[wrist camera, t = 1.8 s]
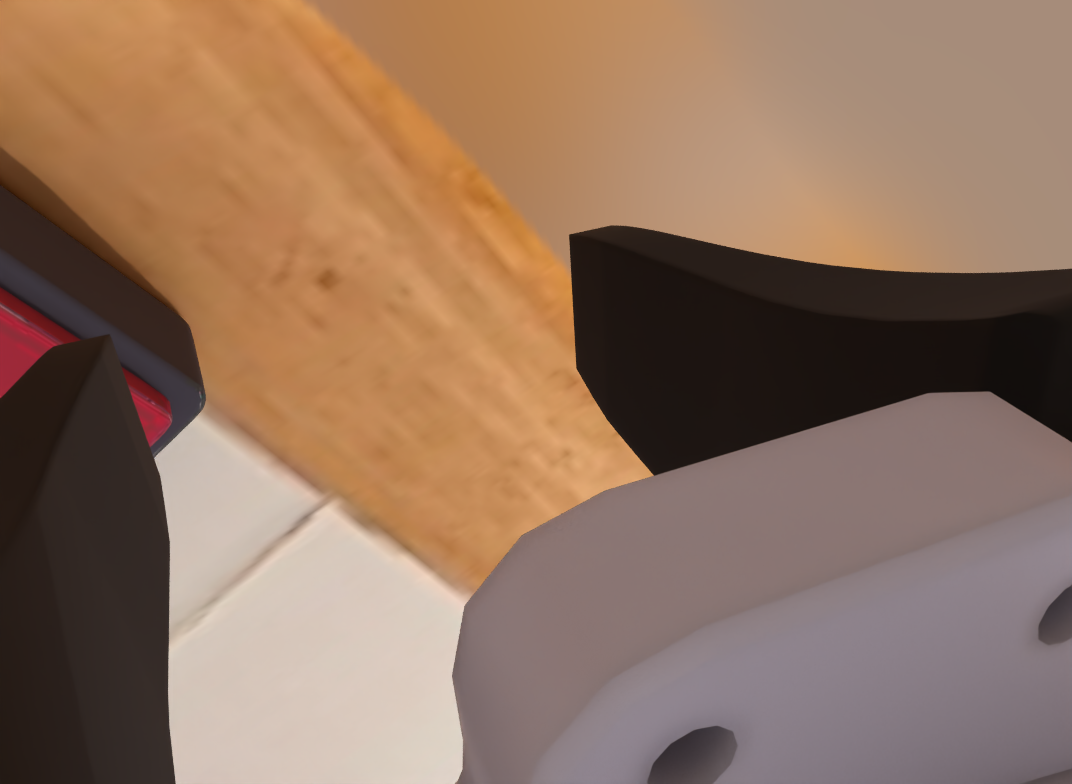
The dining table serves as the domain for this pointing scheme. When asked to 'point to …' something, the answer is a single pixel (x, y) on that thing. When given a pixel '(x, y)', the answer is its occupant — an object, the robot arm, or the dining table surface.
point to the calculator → (91, 319)
